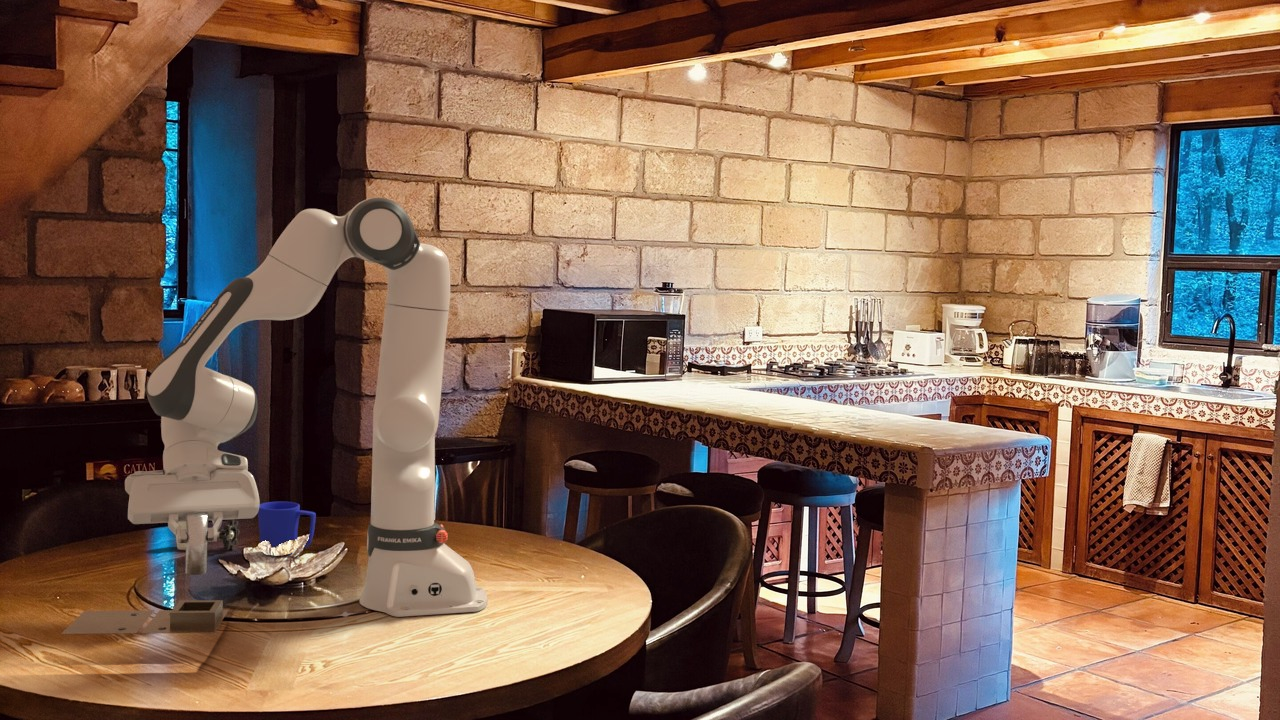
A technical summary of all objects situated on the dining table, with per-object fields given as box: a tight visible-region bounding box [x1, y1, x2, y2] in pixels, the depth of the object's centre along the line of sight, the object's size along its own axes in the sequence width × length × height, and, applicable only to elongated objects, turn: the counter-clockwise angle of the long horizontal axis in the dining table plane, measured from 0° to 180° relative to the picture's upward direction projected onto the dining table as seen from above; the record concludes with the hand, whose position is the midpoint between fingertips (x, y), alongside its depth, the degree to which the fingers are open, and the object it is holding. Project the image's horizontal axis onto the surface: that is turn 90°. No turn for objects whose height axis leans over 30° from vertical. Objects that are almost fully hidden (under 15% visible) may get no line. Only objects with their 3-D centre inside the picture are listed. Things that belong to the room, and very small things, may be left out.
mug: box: [257, 501, 317, 549], centre depth 239 cm, size 8×12×10 cm
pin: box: [185, 513, 209, 576], centre depth 190 cm, size 3×3×9 cm
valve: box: [176, 519, 241, 552], centre depth 241 cm, size 7×7×12 cm
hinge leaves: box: [60, 599, 229, 635], centre depth 190 cm, size 23×12×4 cm, turn 99°
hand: (197, 540), depth 190 cm, fingers closed on pin, 3 cm apart
